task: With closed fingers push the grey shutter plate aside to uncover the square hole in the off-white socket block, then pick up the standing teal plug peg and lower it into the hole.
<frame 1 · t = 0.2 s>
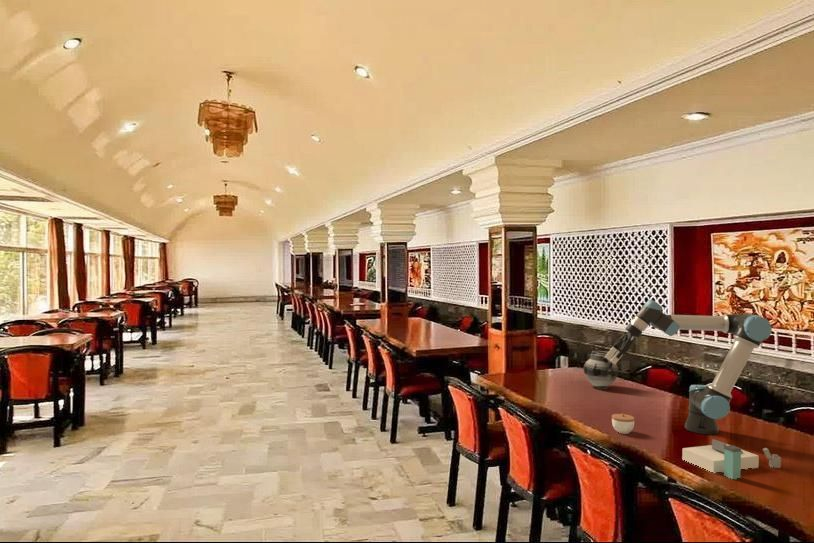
hand: (609, 360, 272), 36 cm above the table, tool tilted 35°, fingers open, 13 cm apart
lighter: (771, 467, 226), on the table
plug: (732, 477, 214), on the table
ceramic pot: (600, 388, 372), on the table
shutter: (726, 445, 230), point 7 cm above the table, slide at 0.0 cm
lidded jar: (622, 432, 272), on the table
socket: (719, 463, 229), on the table
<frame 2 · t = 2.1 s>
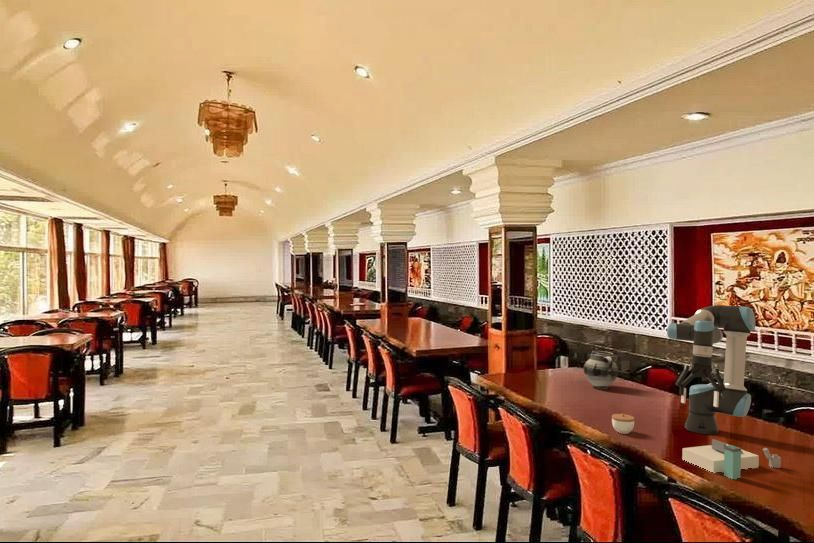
hand: (699, 404, 235), 23 cm above the table, tool pointing down, fingers open, 13 cm apart
nothing on the table moved.
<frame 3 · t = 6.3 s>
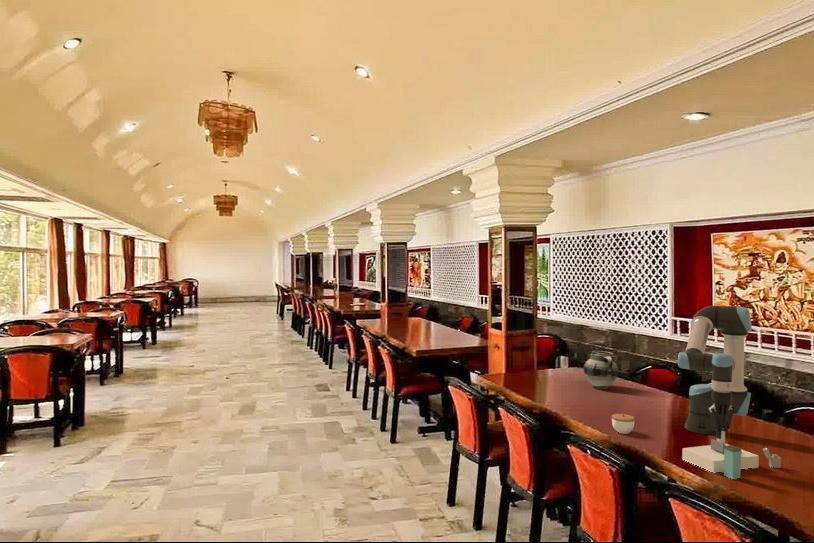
hand: (720, 445, 229), 8 cm above the table, tool pointing down, fingers closed
shutter: (725, 445, 230), point 7 cm above the table, slide at 0.5 cm, touching gripper
everything else where it was.
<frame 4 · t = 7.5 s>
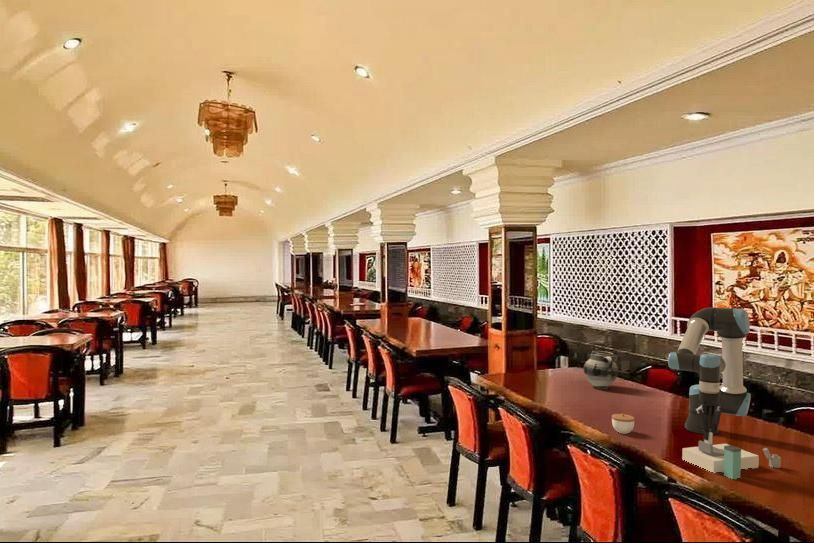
hand: (708, 447, 227), 8 cm above the table, tool pointing down, fingers closed
shutter: (712, 447, 228), point 7 cm above the table, slide at 7.3 cm, touching gripper
everything else where it was.
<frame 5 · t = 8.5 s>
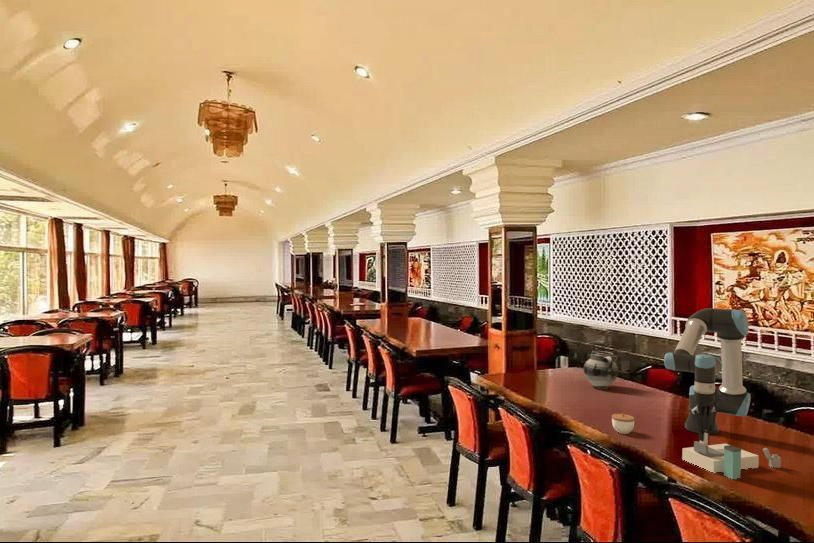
hand: (703, 448, 226), 7 cm above the table, tool pointing down, fingers closed
shutter: (708, 447, 227), point 7 cm above the table, slide at 9.7 cm, touching gripper
everything else where it was.
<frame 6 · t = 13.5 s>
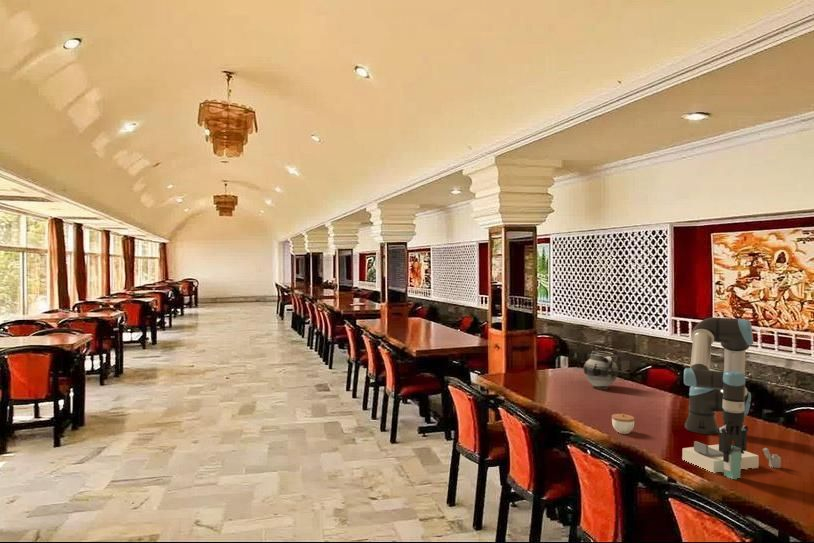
hand: (732, 469, 214), 3 cm above the table, tool pointing down, fingers closed on plug, 4 cm apart
plug: (732, 477, 214), on the table, touching gripper
shutter: (708, 447, 227), point 7 cm above the table, slide at 9.7 cm
everything else where it was.
when the fingers open (6 cm above the table, at t = 20.3 s): plug drops 3 cm, resting in socket.
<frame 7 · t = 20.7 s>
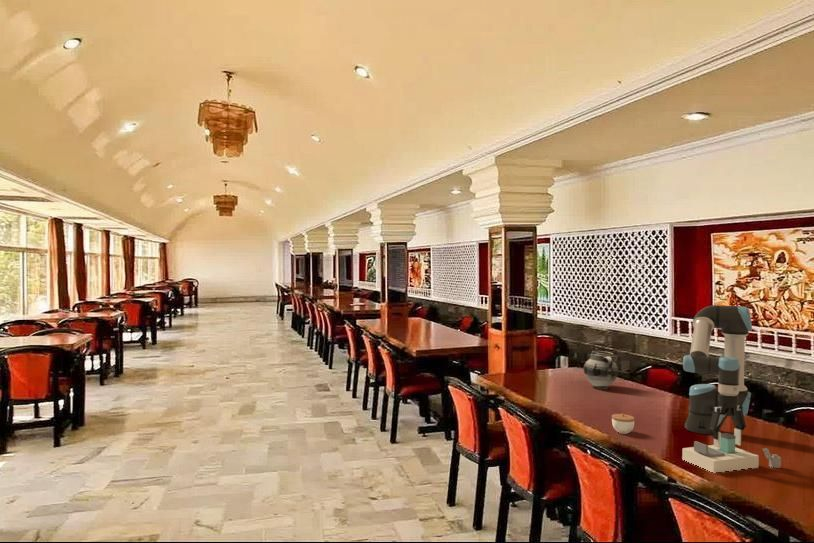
hand: (727, 445, 230), 7 cm above the table, tool pointing down, fingers open, 10 cm apart
plug: (726, 462, 230), resting in socket
everything else where it was.
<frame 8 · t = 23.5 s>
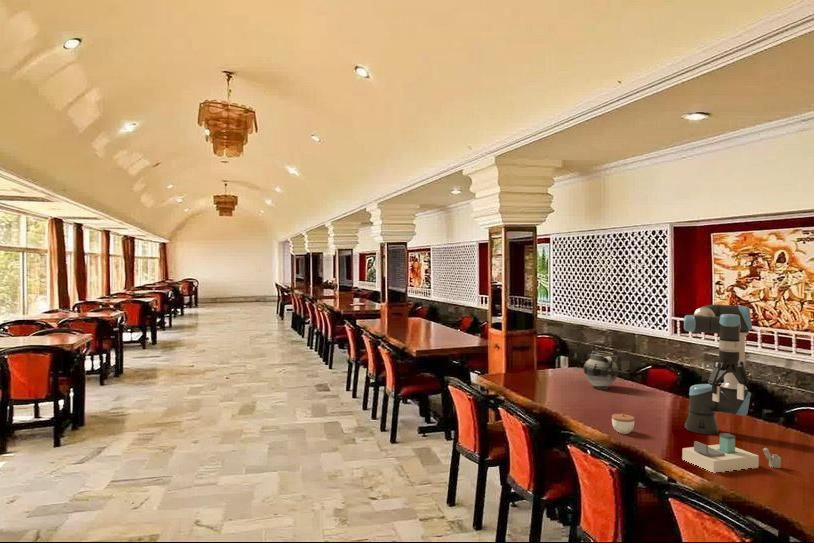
hand: (728, 400, 230), 27 cm above the table, tool pointing down, fingers open, 13 cm apart
nothing on the table moved.
at the end: plug 0.0 cm from the target spot on the socket, point 0.0 cm above the socket's base; shutter slide at 9.7 cm; the gripper is holding nothing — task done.
